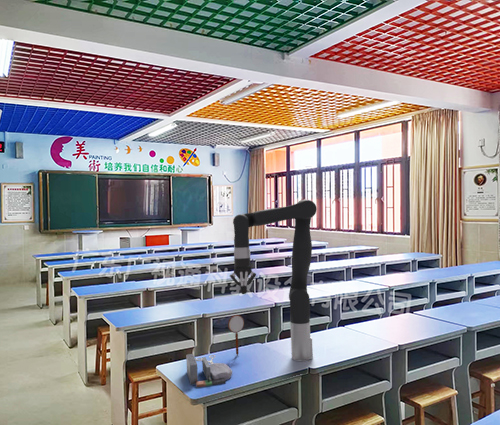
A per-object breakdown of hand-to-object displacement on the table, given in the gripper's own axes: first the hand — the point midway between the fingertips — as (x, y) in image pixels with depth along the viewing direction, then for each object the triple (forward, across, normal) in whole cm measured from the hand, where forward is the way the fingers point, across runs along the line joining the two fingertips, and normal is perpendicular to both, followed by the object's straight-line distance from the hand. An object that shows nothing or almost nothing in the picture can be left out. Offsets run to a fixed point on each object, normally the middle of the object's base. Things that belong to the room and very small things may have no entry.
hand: (243, 293), depth 193 cm
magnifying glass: (+32, +2, -10) cm, 34 cm away
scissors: (+33, +16, -6) cm, 37 cm away
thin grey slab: (+32, +20, +12) cm, 39 cm away
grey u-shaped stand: (+32, +21, +12) cm, 40 cm away
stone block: (+33, +14, +11) cm, 37 cm away
